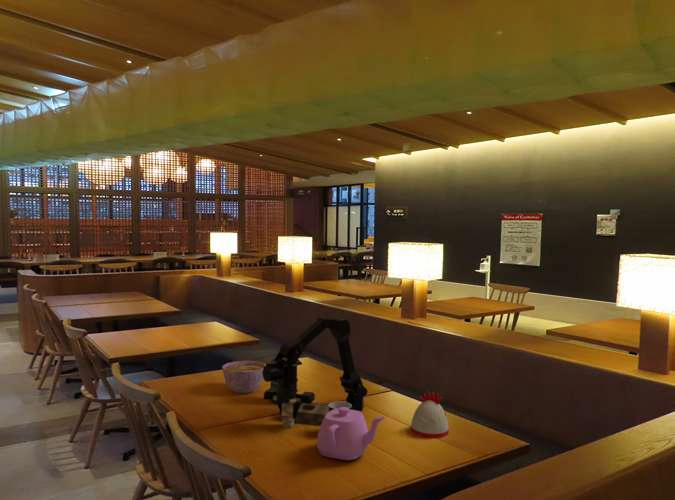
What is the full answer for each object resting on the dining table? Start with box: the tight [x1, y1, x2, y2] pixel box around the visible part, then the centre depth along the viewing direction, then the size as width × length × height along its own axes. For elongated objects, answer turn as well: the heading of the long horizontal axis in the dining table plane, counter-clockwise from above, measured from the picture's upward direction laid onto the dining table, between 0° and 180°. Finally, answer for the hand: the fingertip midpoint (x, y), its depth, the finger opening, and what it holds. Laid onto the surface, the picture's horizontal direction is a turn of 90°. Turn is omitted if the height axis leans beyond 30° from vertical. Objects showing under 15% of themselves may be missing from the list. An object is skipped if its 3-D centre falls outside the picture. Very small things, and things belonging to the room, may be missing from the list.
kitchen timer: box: [410, 391, 450, 439], centre depth 199 cm, size 14×14×15 cm
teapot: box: [316, 407, 386, 461], centre depth 176 cm, size 23×21×15 cm
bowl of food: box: [221, 360, 266, 395], centre depth 244 cm, size 20×20×12 cm
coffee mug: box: [328, 401, 353, 412], centre depth 197 cm, size 12×9×10 cm
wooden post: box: [281, 400, 296, 429], centre depth 201 cm, size 4×4×9 cm
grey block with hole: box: [280, 402, 330, 426], centre depth 211 cm, size 18×12×4 cm, turn 76°
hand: (288, 418), depth 202 cm, fingers closed on wooden post, 4 cm apart
